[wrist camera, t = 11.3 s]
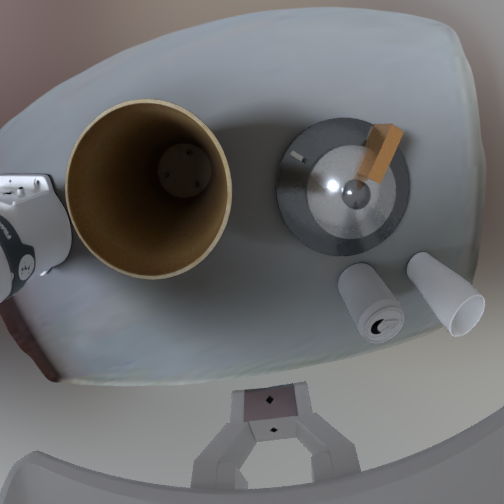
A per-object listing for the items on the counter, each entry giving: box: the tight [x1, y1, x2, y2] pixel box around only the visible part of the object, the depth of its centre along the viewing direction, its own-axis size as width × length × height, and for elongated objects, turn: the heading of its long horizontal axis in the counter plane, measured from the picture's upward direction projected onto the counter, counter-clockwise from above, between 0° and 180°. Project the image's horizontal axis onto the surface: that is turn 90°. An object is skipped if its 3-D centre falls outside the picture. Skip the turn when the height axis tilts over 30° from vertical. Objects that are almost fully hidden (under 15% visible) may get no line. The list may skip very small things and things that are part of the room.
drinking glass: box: [407, 252, 485, 337], centre depth 33 cm, size 7×7×15 cm
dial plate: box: [276, 118, 409, 256], centre depth 35 cm, size 19×19×2 cm
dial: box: [305, 124, 404, 239], centre depth 31 cm, size 16×12×5 cm
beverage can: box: [338, 263, 404, 344], centre depth 36 cm, size 6×6×12 cm
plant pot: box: [65, 99, 232, 279], centre depth 27 cm, size 15×15×16 cm
